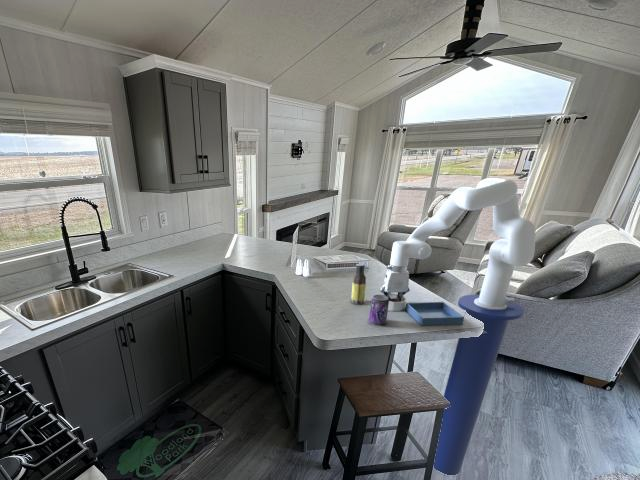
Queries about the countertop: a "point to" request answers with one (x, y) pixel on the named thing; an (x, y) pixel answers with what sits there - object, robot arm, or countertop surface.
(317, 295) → the countertop surface
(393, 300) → the block
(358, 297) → the sauce bottle
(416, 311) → the tub
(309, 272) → the shaker set
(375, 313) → the beverage can
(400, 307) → the white round bowl
